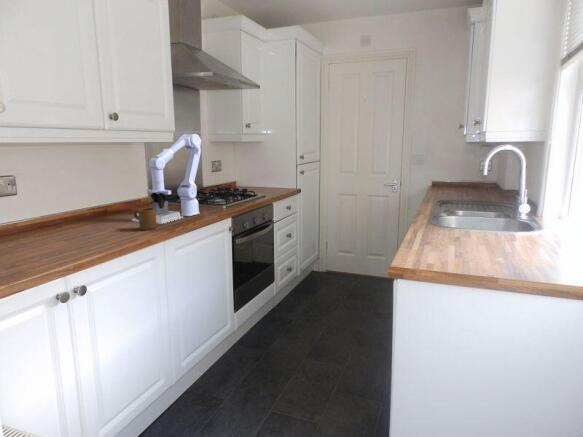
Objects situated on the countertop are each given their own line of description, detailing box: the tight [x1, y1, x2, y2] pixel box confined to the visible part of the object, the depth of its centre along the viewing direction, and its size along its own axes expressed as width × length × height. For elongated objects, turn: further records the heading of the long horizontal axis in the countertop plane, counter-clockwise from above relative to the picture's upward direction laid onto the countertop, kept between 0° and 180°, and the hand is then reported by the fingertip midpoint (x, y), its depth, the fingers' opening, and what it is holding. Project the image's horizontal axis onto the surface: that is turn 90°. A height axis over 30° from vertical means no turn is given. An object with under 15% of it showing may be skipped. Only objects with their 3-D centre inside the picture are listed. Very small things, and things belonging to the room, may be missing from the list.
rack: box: [131, 210, 184, 225], centre depth 215 cm, size 16×20×4 cm
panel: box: [152, 200, 169, 215], centre depth 214 cm, size 9×2×7 cm, turn 155°
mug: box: [132, 207, 158, 232], centre depth 193 cm, size 12×8×9 cm, turn 66°
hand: (159, 207), depth 213 cm, fingers closed on panel, 2 cm apart
